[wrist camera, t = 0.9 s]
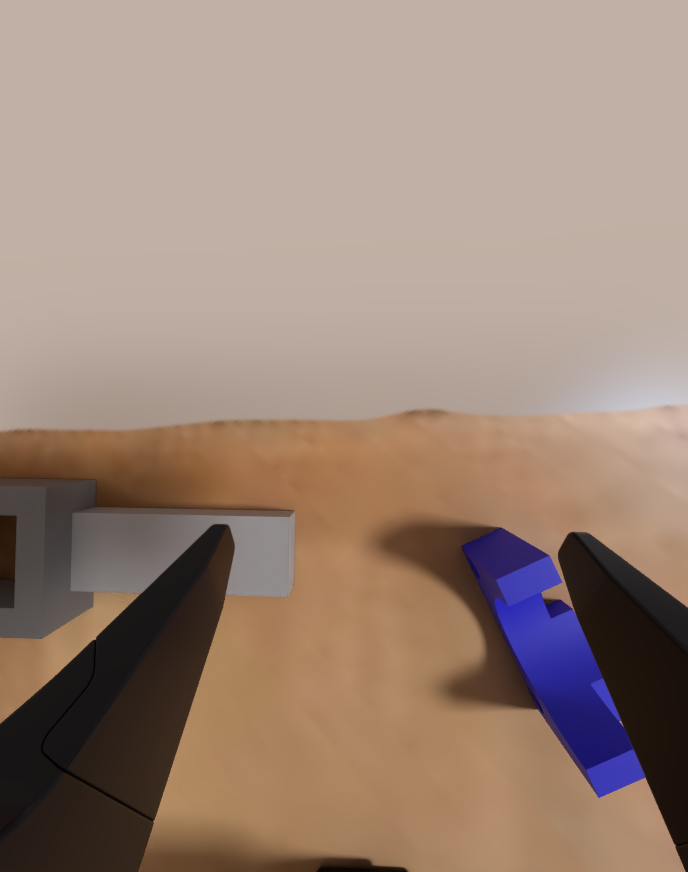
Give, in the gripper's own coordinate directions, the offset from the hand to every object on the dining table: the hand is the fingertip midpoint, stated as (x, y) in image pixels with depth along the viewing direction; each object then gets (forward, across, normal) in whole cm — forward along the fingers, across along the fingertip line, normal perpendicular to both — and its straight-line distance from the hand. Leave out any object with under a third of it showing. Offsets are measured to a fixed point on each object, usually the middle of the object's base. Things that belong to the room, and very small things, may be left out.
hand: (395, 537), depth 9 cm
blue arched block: (+7, -11, +16) cm, 21 cm away
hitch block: (+9, +17, +12) cm, 22 cm away
